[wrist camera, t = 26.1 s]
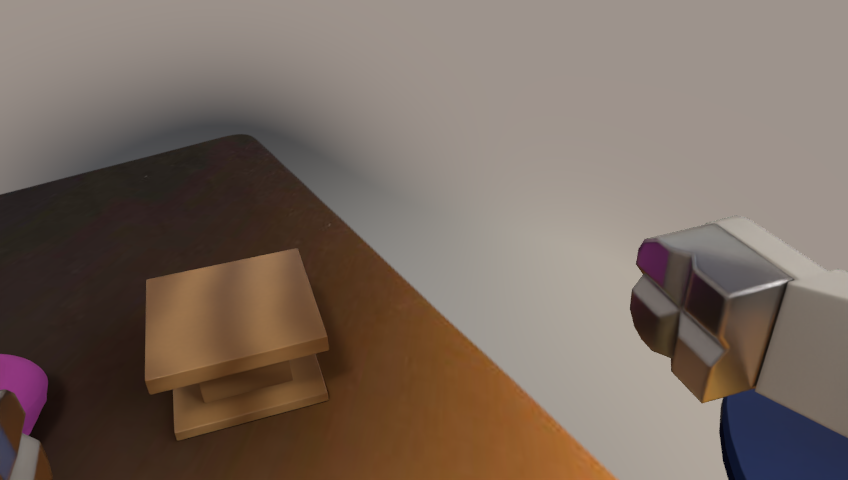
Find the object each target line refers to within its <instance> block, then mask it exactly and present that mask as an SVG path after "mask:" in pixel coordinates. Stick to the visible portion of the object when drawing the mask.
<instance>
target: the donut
mask: <svg viewBox="0 0 848 480" xmlns="http://www.w3.org/2000/svg"><path fill="white" fill-rule="evenodd" d="M47 388H48V379H47V376H46V374H45V372H44V371H43V370H42V369H41V368H40V367H39V366H38V365H36V364H35V363H33V362H31V361H30V360H27V359H25V358H22V357H17V356H13V355H6V354H0V390H3V389H6V390H9V391H11V392H14V393H15V395H16V397H17V398H18V400H19V402H20V404H21V406H22V407H23V409H24V411H25V413H26V416H25V421H24V426H23V431H22V433H24V434H26V435H29V434H30V433H31V431H32V429H33V426H34V425H35V423H36V421H37V419H38V417H39V414H40V412H41V410H42V408H43V406H44V404H45V403H46V401H47V395H46V394H47Z"/></svg>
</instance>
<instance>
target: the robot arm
mask: <svg viewBox="0 0 848 480" xmlns="http://www.w3.org/2000/svg"><path fill="white" fill-rule="evenodd" d="M636 265H637V266H638V268H639V269H640V270H641V272H642V273H643V275H642V277H641V278H640V279H639V281H638V282H637V284H636V285H635V286H634V288H633V289H632V295H631V304H630V310H631V314H632V318H633V323H634V326H635V328H636V330H637V332H638V334H639V336H640V337H641V339H642V340H643V341H644V342H645V344H646V345H647V346H648V347H649V348H650V349H651V350H652V351H654V352H657V353H659V354H662V355H664V356H667V357H669V358H671V371H672V372H673V374H674V375H675V376H676V377H678V379H679V380H680V381H681V382H682V383H683V384H684V385H685V386H686V387H687V388H688V389H689V390H690V391H691V392H692V393H693V394H694V395H695V396H696V397H697V399H698V400H699V401H700V402H701V403H705V402H709V401H712V400H716V399H719V398H723V397H726V396H730V395H733V394H737V393H741V392H744V391H748V390H751V389H755V388H756V389H755V392H757V393H759V394H761V395H763V396H765V397H767V398H769V399H771V400H773V401H775V402H777V403H779V404H781V405H783V406H785V407H787V408H789V409H791V410H793V411H795V412H797V413H799V414H801V415H803V416H805V417H807V418H809V419H811V420H813V421H815V422H817V423H819V424H821V425H823V426H825V427H827V428H829V429H831V430H833V431H835V432H837V433H839V434H841V435H843V436H845V437H847V438H848V272H847V271H844V270H840V269H836V270H832V271H828V270H826V269H825V268H823V267H821V266H820V265H818V264H817V263H815V262H814V261H812V260H811V259H809V258H808V257H806V256H805V255H803V254H801V253H800V252H799V251H797V250H796V249H794V248H793V247H791V246H790V245H788V244H787V243H785V242H784V241H782V240H780V239H779V238H777V237H776V236H774V235H773V234H771V233H770V232H768V231H767V230H765V229H764V228H762V227H761V226H759V225H758V224H756V223H755V222H753V221H751V220H750V219H748V218H745V217H741V216H732V217H728V218H724V219H720V220H717V221H713V222H709V223H706V224H705V225H702V226H697V227H693V228H689V229H685V230H681V231H677V232H672V233H669V234H664V235H660V236H656V237H652V238H647V239H645V240H644V241H643V243H642V245H641V247H640V248H639V250H638V256H637V261H636ZM25 416H26V413H25V411H24V409H23V407H22V406H21V404H20V402H19V400H18V398H17V397H16V395H15V393H14V392H11V391H9V390H6V389H3V390H0V480H53V479H52V472H51V469H50V465H49V462H48V458H47V455H46V453H45V451H44V449H43V447H42V445H41V443H40V441H39V440H37V439H34V438H32V437H30V436H28V435H26V434H24V433H22V431H23V426H24V421H25Z"/></svg>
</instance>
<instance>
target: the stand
mask: <svg viewBox="0 0 848 480" xmlns="http://www.w3.org/2000/svg"><path fill="white" fill-rule="evenodd" d="M328 350H329V343H328V337H327V334H326V331H325V328H324V325H323V322H322V319H321V316H320V313H319V310H318V307H317V304H316V301H315V298H314V295H313V292H312V289H311V286H310V283H309V280H308V277H307V274H306V271H305V268H304V265H303V262H302V259H301V257H300V254H299V251H298V248H296V249H291V250H286V251H281V252H276V253H272V254H267V255H262V256H257V257H253V258H248V259H243V260H238V261H233V262H229V263H224V264H219V265H214V266H209V267H205V268H200V269H195V270H190V271H186V272H181V273H176V274H171V275H166V276H162V277H157V278H152V279H147V280H146V333H145V383H146V386H147V389H148V392H149V394H150V395H152V394H156V393H160V392H164V391H168V390H172V389H173V410H174V434H175V437H176V440H177V441H179V440H183V439H187V438H191V437H194V436H198V435H202V434H205V433H209V432H213V431H217V430H220V429H224V428H228V427H231V426H235V425H239V424H243V423H246V422H250V421H254V420H257V419H261V418H265V417H269V416H272V415H276V414H280V413H283V412H287V411H291V410H295V409H298V408H302V407H306V406H309V405H313V404H317V403H321V402H324V401H328V399H329V398H328V392H327V389H326V386H325V382H324V379H323V376H322V373H321V369H320V366H319V363H318V359H317V356H316V353H320V352H324V351H328Z"/></svg>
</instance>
